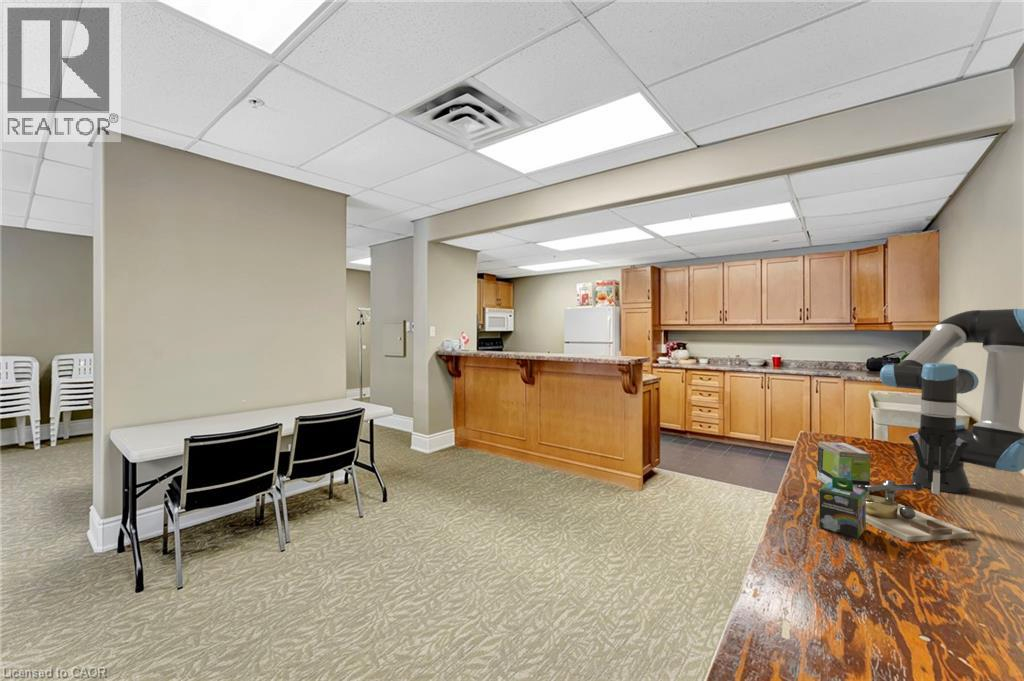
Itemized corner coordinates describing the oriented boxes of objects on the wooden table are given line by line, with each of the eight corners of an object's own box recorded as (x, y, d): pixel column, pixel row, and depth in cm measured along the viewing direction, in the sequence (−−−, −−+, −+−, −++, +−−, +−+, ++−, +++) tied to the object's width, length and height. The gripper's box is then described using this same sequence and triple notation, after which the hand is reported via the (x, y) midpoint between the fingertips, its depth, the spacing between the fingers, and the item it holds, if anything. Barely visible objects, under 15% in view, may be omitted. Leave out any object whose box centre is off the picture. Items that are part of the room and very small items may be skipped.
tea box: (870, 496, 145) (872, 453, 145) (837, 493, 147) (838, 451, 147) (845, 480, 160) (846, 441, 160) (815, 478, 162) (816, 440, 162)
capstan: (904, 503, 135) (905, 474, 135) (936, 515, 126) (937, 485, 126) (844, 506, 132) (844, 477, 132) (871, 519, 123) (872, 488, 123)
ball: (906, 515, 126) (906, 504, 126) (918, 521, 122) (919, 509, 122) (895, 516, 125) (896, 504, 125) (908, 521, 122) (908, 509, 122)
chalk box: (866, 529, 121) (867, 478, 120) (858, 540, 115) (860, 485, 115) (826, 518, 128) (828, 469, 128) (817, 527, 122) (819, 476, 122)
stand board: (899, 508, 135) (899, 499, 135) (972, 538, 116) (972, 527, 116) (843, 511, 133) (843, 502, 133) (908, 542, 114) (908, 531, 113)
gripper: (967, 416, 126) (964, 494, 126) (907, 410, 134) (905, 484, 135) (972, 420, 120) (969, 502, 121) (909, 413, 128) (906, 491, 129)
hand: (935, 492), depth 128 cm, fingers closed
